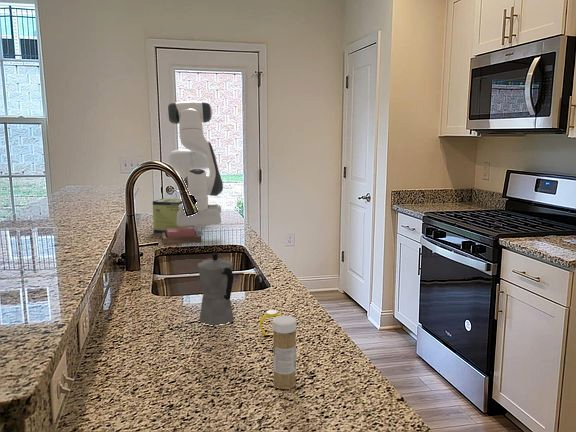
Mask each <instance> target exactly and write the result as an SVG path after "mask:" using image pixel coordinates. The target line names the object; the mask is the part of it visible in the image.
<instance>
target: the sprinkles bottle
mask: <svg viewBox="0 0 576 432" xmlns="http://www.w3.org/2000/svg"><path fill="white" fill-rule="evenodd" d="M297 325H298V324H297V319H296V318H295V317H294V316H292V315H282V316H274V318H273V319H272V325H271V326H272V331H273V332H272V333H273V334H274V336H272V337H273V339H272V340H273V345H272V346H273V347H272V348H273V351H272V352H273V354H272V367H273V368H272V369H273V380H272V384H274V385H275V386H276V387H278V388H282V389H289V388H292V387H294V386H295V387H296V385H297V381H296V380H297V379H296V377H297V376H296V370H297V342H296V340H297V339H296V338H297V337H296V336H297V334H296V333H297ZM274 385H273V386H274ZM276 387H275V388H276ZM295 387H294V388H295ZM292 389H293V388H292ZM289 390H290V389H289Z"/></svg>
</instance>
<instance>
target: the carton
mask: <svg viewBox="0 0 576 432" xmlns="http://www.w3.org/2000/svg"><path fill="white" fill-rule="evenodd" d="M191 236H197V235H195V229H194V228H193V226H191V227H184V228H167V237H166V238H176V237H191Z"/></svg>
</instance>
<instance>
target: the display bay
mask: <svg viewBox="0 0 576 432" xmlns="http://www.w3.org/2000/svg"><path fill="white" fill-rule="evenodd" d="M195 235H196V231H195ZM161 236H162V242H163V244H164V245H177V244H192V243H202V235H196V236H191V237H176V238H167V232H162V233H161Z"/></svg>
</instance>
